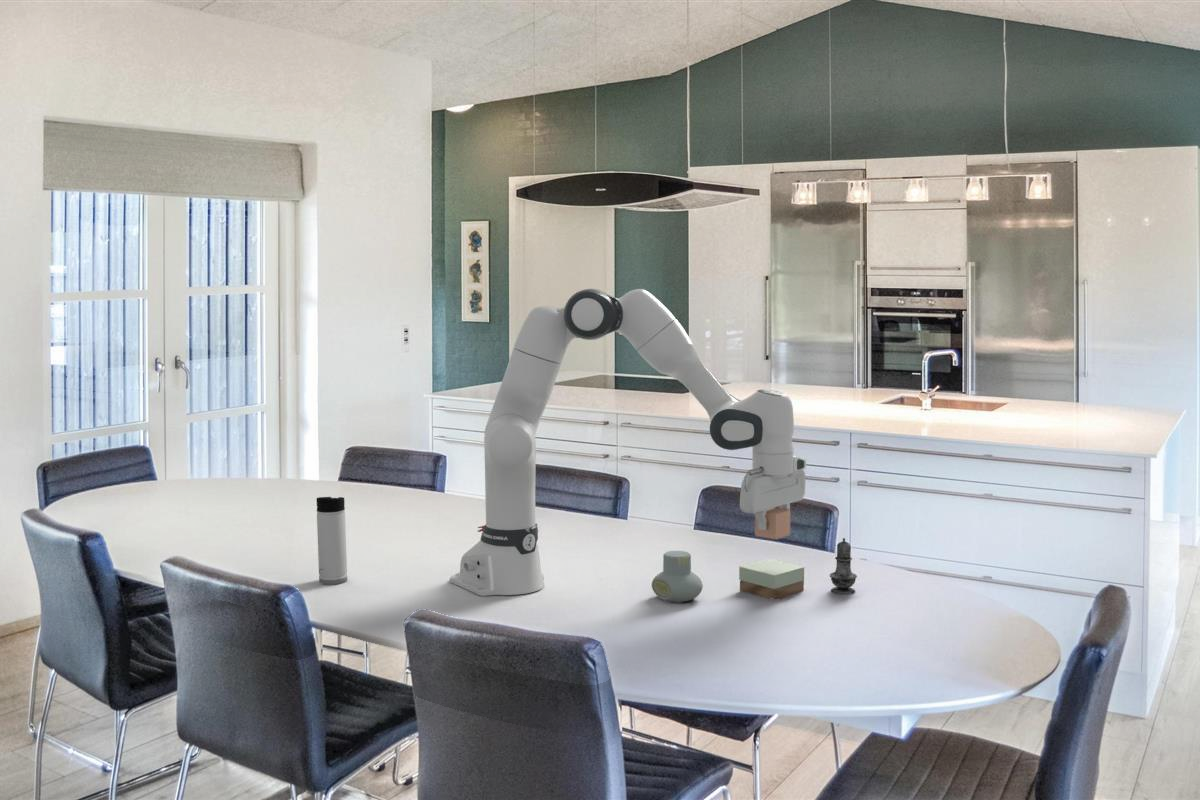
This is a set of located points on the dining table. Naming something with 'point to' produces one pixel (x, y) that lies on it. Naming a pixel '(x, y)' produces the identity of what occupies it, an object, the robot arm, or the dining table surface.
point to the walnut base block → (771, 590)
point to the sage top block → (771, 573)
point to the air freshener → (677, 578)
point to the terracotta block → (775, 524)
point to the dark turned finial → (843, 570)
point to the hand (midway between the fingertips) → (772, 526)
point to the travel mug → (331, 540)
